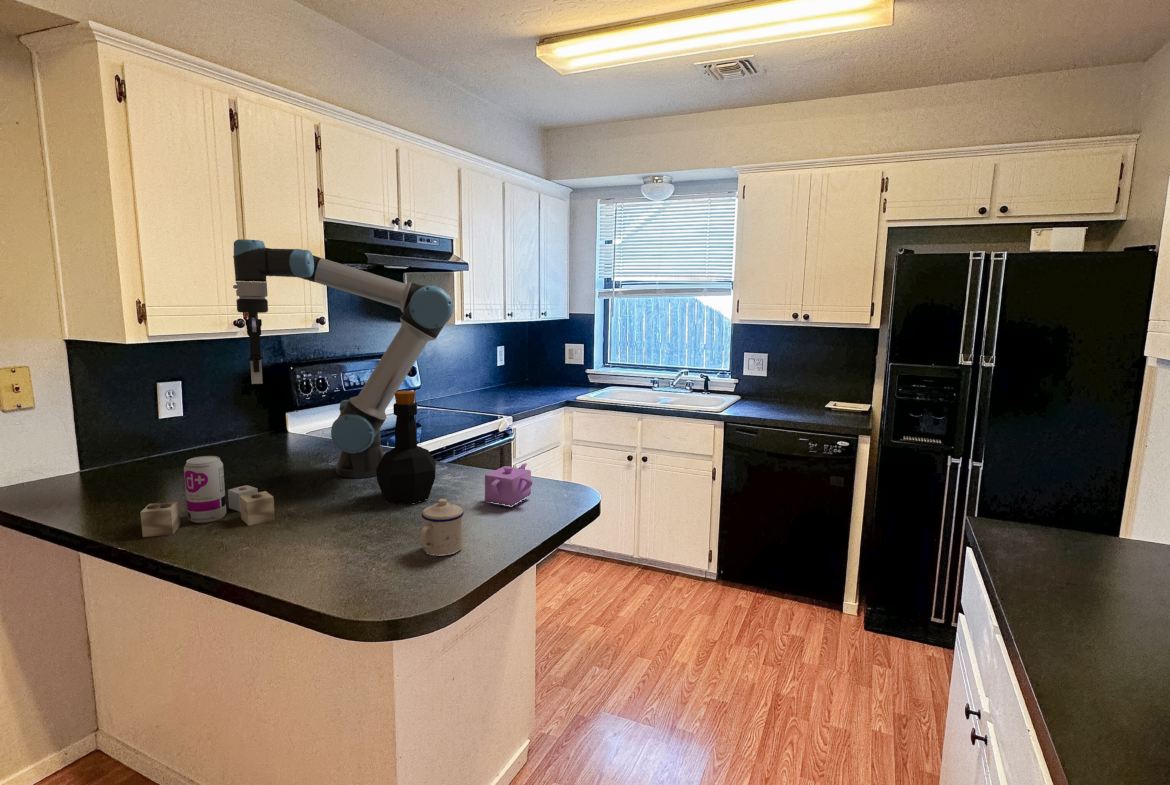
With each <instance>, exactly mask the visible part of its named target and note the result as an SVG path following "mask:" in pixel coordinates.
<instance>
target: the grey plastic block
mask: <svg viewBox="0 0 1170 785" xmlns="http://www.w3.org/2000/svg"><path fill="white" fill-rule="evenodd" d="M258 492H259V490H258V488H257V487H254V486H250V485H247V484H246V485H242V486H238V487H233V488H230V489H227V497H228V509H230V510H231V509H232V510H234V511H237V512H239V513H241V510H240V496H242V495H248V494H253V493H258Z"/></svg>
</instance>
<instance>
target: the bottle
mask: <svg viewBox="0 0 1170 785" xmlns="http://www.w3.org/2000/svg"><path fill="white" fill-rule="evenodd" d="M394 399H395V402H394V403H393V415H394V416H396V418H395V419H396V420H395V424H394V425H395V426H394V447H393V448H391V449H389V450H388V451H386V452H385V453H383V454H384V455H383V457H382V459H381V461H380V463H379V465H378V467H377V469H376V481H377V483H378V486H379V489H380V491H381V494H382V497H383V499H384V502H386V501H387V502H386V503H389V502H390V504H392V505H413V504H412V503H416V502H419V501H422V500H425V499H428V500H429V498H430V496H431V492H432V489H433V487H434V486H433V485H434V482H435V480H436V472H437V471H436V470H437V469H436V467H437V465H436V464H437V463H436V460H435V459H434V457H433V455H432V454H431V452H430V451H429V449H428V448H427V449H426V448H424V447H422V446H419V445H418V429H417V420H416V416H417V414H418V403H417V402H415V399H416V391H415V390H397V392H395V395H394ZM425 501H426V500H425ZM422 502H423V501H422ZM419 503H420V502H419ZM416 504H417V503H416Z"/></svg>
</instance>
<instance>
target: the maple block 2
mask: <svg viewBox="0 0 1170 785" xmlns="http://www.w3.org/2000/svg"><path fill="white" fill-rule="evenodd" d="M274 499H275V498H274V496H273V495H272V494H270V493H269V492H268V491H266V490H264V491H258V493H253V494H248V495H242V496H240V510H241V512H240V519H241V520H242V521H243V522H244V523H245V524H246V525H247V526H254V525H259V524H263V523H267V522H272V521H275V520H276V518H275V517H276V515H275V500H274Z"/></svg>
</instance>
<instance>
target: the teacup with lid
mask: <svg viewBox="0 0 1170 785" xmlns="http://www.w3.org/2000/svg"><path fill="white" fill-rule="evenodd" d="M464 512H465V511H464V510H463V508H462V507H461V506H459V505H457V504H453V503H450V502H448V500H447V498H440V499H439V500H438V501H437V503H434V504H432V505H430V506H427V507H425V508H424V509H423V510H422V513H421V517H422V528H421V530H420V532H419V534H418V542H419V544H420V546H421V547H422V548H423V552H424V551H425V552H427V553H429V554H435V555H436V554H437V555H439V554H448V553H452V552H455V551H457V550H459V549H461V548H462V549H463V547H462V546H464V543H463V532H464V530H463V528H464V527H463V522H464V521H463V516H464ZM425 552H424V553H425Z"/></svg>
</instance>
